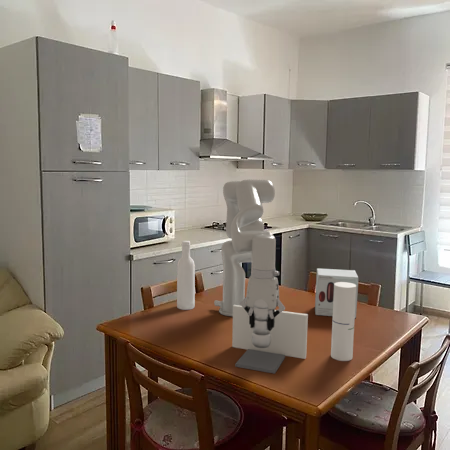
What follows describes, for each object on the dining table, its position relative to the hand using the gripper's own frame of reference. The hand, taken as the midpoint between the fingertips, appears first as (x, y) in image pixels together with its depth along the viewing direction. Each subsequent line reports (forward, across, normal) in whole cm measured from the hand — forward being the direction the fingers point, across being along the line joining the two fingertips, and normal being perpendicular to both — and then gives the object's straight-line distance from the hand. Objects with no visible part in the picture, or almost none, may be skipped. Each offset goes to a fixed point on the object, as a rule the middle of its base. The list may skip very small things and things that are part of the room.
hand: (261, 327), depth 153 cm
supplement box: (+12, -15, -63) cm, 66 cm away
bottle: (+12, +48, -43) cm, 66 cm away
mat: (+12, 0, 0) cm, 12 cm away
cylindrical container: (+12, -24, -15) cm, 31 cm away
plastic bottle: (+7, 0, 0) cm, 7 cm away
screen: (+12, 0, -9) cm, 15 cm away
